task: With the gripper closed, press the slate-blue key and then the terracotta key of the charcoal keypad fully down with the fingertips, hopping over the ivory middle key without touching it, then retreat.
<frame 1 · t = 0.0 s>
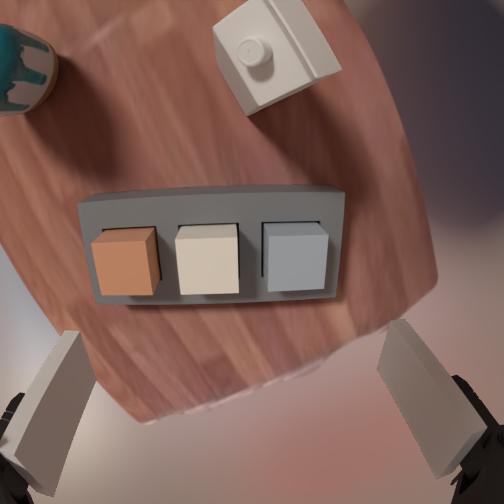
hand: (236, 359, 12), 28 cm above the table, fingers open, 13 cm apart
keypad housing: (211, 237, 40), on the table
vase: (39, 78, 30), on the table
milk carton: (258, 78, 33), on the table
key rust: (129, 258, 33), point 6 cm above the table, slide at 0.0 cm
key ivory: (209, 256, 34), point 6 cm above the table, slide at 0.0 cm
key slate: (292, 253, 35), point 6 cm above the table, slide at 0.0 cm
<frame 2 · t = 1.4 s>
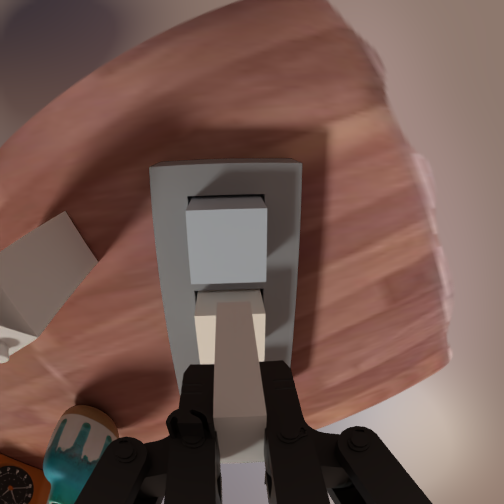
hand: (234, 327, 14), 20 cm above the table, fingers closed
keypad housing: (229, 294, 36), on the table
vase: (94, 414, 43), on the table
milk carton: (63, 249, 32), on the table
key ivory: (230, 325, 30), point 6 cm above the table, slide at 0.0 cm
alarm clock: (25, 467, 52), on the table
key slate: (227, 235, 27), point 6 cm above the table, slide at 0.0 cm
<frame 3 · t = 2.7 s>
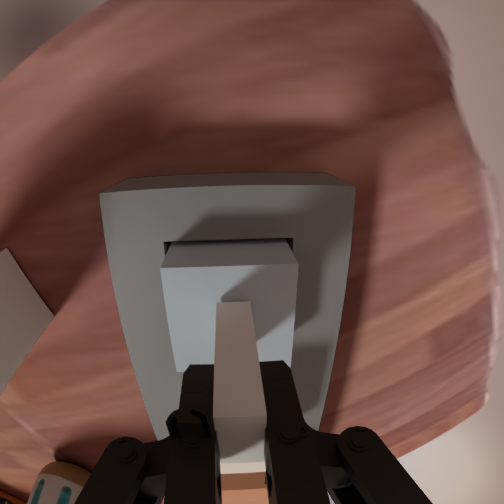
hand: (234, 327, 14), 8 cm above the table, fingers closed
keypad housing: (233, 362, 25), on the table
vase: (77, 469, 32), on the table
milk carton: (12, 297, 22), on the table
key rust: (240, 476, 23), point 6 cm above the table, slide at 0.0 cm
key ivory: (236, 418, 19), point 6 cm above the table, slide at 0.0 cm
alarm clock: (13, 499, 41), on the table
key slate: (230, 294, 17), point 5 cm above the table, slide at 1.4 cm, touching gripper
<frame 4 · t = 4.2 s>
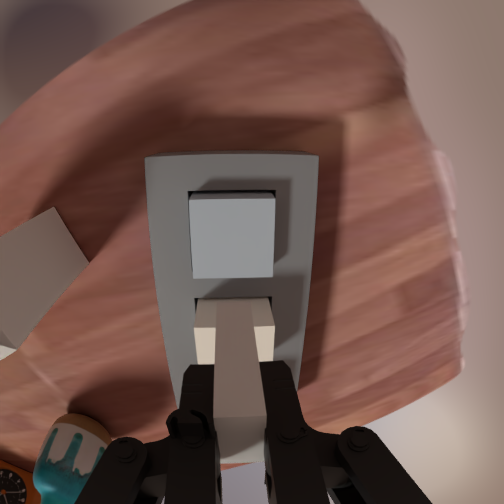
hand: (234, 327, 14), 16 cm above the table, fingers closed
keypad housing: (232, 301, 33), on the table
vase: (88, 423, 39), on the table
milk carton: (52, 249, 29), on the table
key ivory: (234, 336, 27), point 6 cm above the table, slide at 0.0 cm
alarm clock: (18, 471, 49), on the table
key slate: (231, 228, 26), point 4 cm above the table, slide at 2.2 cm
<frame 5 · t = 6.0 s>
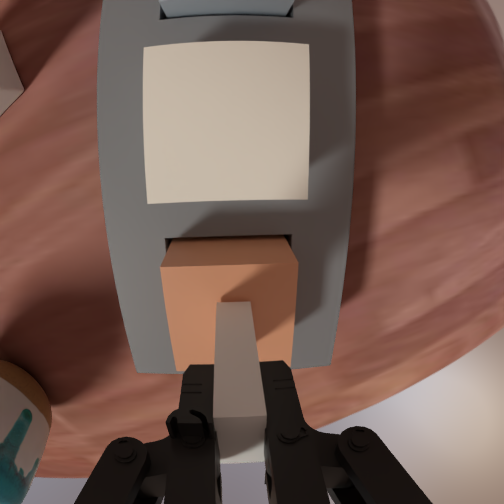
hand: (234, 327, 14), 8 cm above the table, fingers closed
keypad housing: (226, 125, 19), on the table
vase: (23, 380, 26), on the table
key rust: (230, 294, 17), point 5 cm above the table, slide at 1.0 cm, touching gripper
key ivory: (226, 121, 13), point 6 cm above the table, slide at 0.0 cm
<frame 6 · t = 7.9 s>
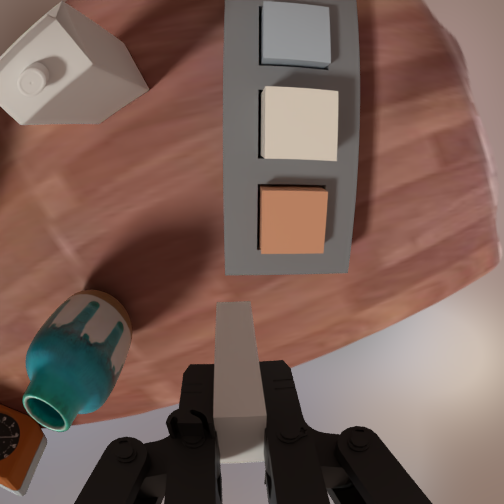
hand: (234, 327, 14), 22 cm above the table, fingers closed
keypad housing: (285, 126, 32), on the table
vase: (105, 311, 40), on the table
milk carton: (111, 83, 30), on the table
key rust: (289, 215, 32), point 4 cm above the table, slide at 2.2 cm
key ivory: (296, 124, 27), point 6 cm above the table, slide at 0.0 cm
alarm clock: (14, 417, 50), on the table
key slate: (292, 39, 25), point 4 cm above the table, slide at 2.2 cm
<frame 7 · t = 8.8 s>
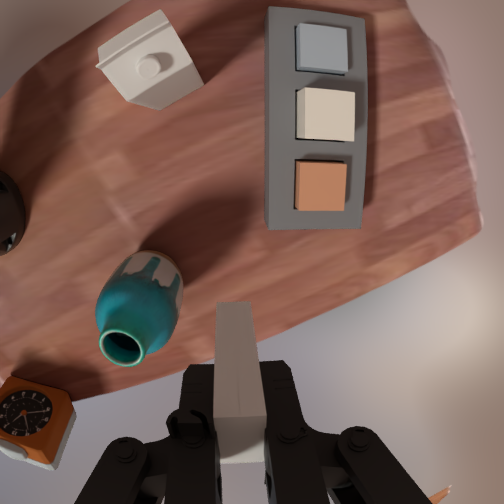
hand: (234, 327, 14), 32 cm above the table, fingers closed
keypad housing: (310, 117, 41), on the table
vase: (154, 272, 48), on the table
milk carton: (170, 78, 38), on the table
key rust: (316, 183, 41), point 4 cm above the table, slide at 2.2 cm
key ivory: (323, 115, 36), point 6 cm above the table, slide at 0.0 cm
alarm clock: (42, 394, 58), on the table
key slate: (318, 51, 34), point 4 cm above the table, slide at 2.2 cm
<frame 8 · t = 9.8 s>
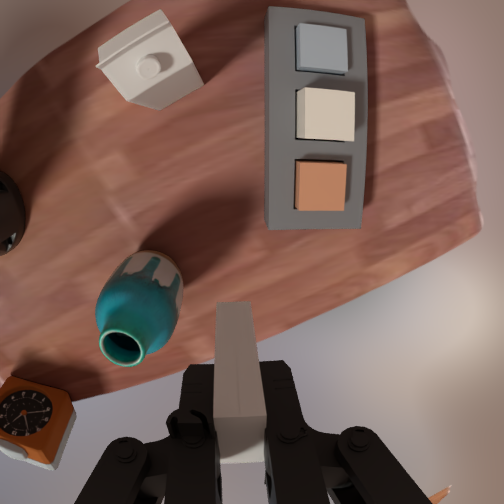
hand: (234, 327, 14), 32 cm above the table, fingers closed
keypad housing: (310, 117, 41), on the table
vase: (154, 272, 48), on the table
milk carton: (170, 77, 38), on the table
key rust: (316, 183, 41), point 4 cm above the table, slide at 2.2 cm
key ivory: (323, 115, 36), point 6 cm above the table, slide at 0.0 cm
alarm clock: (42, 394, 58), on the table
key slate: (317, 51, 34), point 4 cm above the table, slide at 2.2 cm
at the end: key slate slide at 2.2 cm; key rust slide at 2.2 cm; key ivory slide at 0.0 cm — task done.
